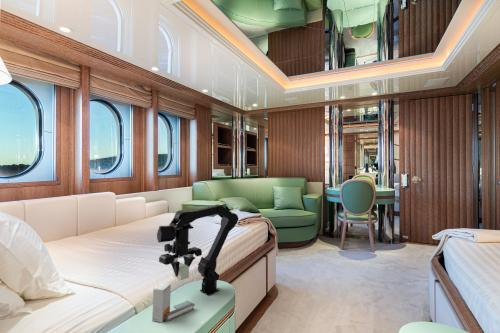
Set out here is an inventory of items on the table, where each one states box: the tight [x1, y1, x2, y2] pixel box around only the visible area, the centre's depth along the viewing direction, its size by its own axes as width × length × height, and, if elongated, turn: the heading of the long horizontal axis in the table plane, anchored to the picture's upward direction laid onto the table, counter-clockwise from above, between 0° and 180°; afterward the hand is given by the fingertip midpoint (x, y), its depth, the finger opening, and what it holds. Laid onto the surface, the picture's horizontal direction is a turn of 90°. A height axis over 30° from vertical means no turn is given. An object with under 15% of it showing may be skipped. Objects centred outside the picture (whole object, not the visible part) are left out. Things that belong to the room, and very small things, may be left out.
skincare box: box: [151, 282, 172, 323], centre depth 99 cm, size 6×4×12 cm
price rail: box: [164, 302, 195, 322], centre depth 101 cm, size 12×1×2 cm, turn 138°
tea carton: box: [172, 262, 190, 281], centre depth 114 cm, size 4×6×5 cm
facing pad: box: [173, 300, 195, 310], centre depth 108 cm, size 7×5×1 cm
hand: (180, 274), depth 114 cm, fingers closed on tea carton, 4 cm apart
